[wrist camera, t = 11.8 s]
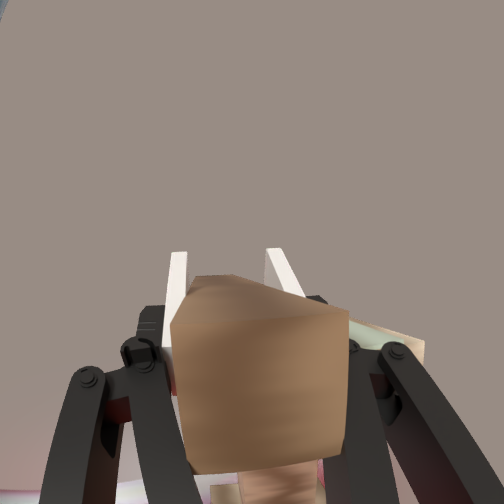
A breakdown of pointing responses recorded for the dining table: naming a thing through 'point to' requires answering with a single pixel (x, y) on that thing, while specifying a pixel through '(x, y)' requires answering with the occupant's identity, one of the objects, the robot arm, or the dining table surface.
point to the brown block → (258, 376)
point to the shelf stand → (304, 474)
